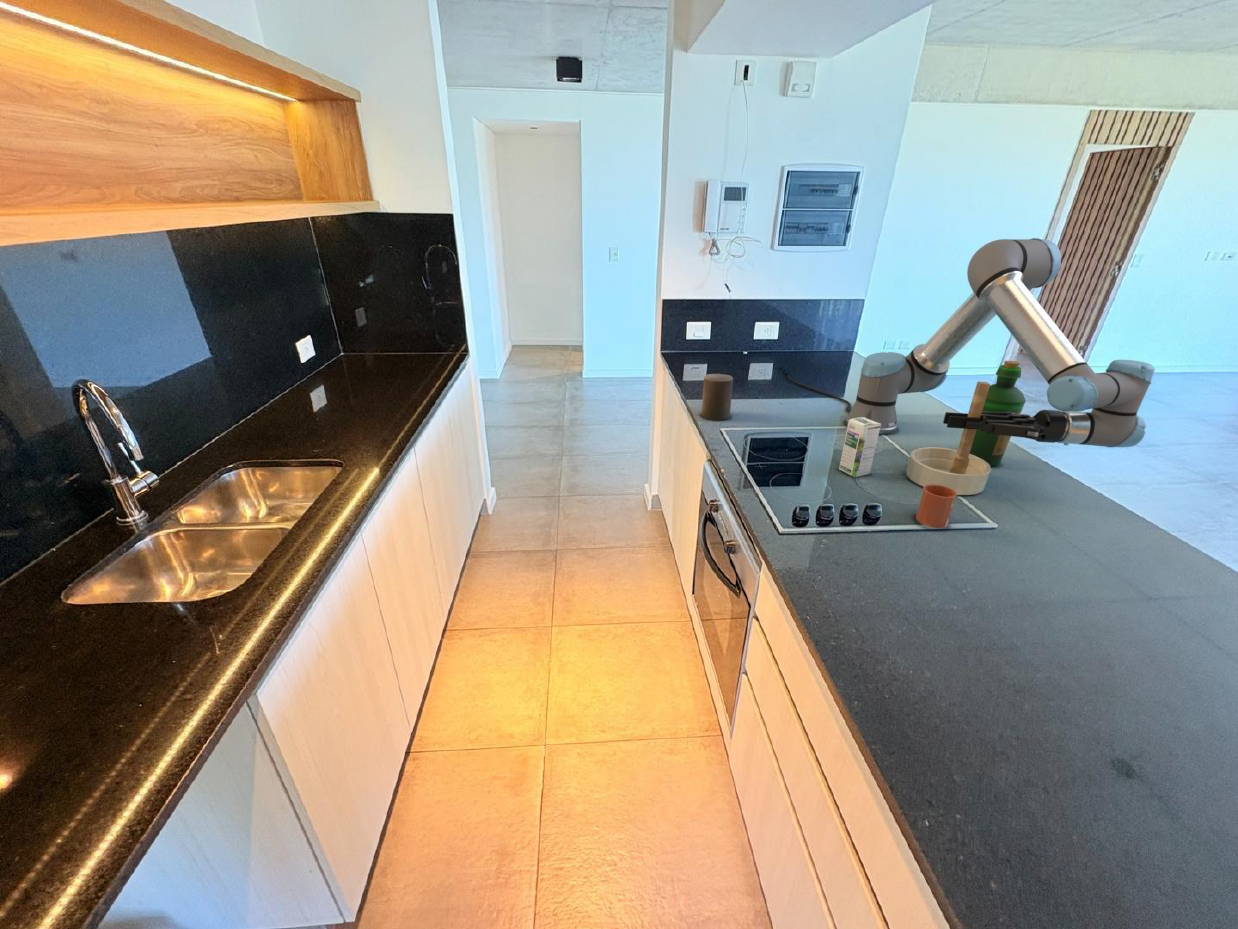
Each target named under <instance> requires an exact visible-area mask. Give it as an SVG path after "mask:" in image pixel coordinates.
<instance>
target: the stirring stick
mask: <svg viewBox="0 0 1238 929" xmlns="http://www.w3.org/2000/svg"><path fill="white" fill-rule="evenodd" d="M990 385H991V384H990V383H989V382H988V381H979V380H978V381H977V382H976V385H975V389H974V392H973V395H972V399H971V402H970V405H969V410H968V413H967V414H968V416H967V417H976V418H980V417H981V413H982V410H983V407H984V403H985V400H986V397H987V393H988V390H989V387H990ZM976 430H977V429H963V430H962V433H961V437H960V441H959V444H958V447H957V450H958V451H957V454H956V456H957V457H953V461H952V464H951V468H950V471H949V473H955V474H965V473H966V470H967V467H968V463H969V460H970V459H969V458H968V457H969V453H970V450H971V447H972V443H973V440H974V437H975V433H976Z"/></svg>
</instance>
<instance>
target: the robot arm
mask: <svg viewBox="0 0 1238 929" xmlns="http://www.w3.org/2000/svg"><path fill="white" fill-rule="evenodd" d="M1061 261H1062V253H1061V250H1060V248H1059V246H1058V245H1057V244H1055V242H1053V241H1051V240H1049V239H1042V238H1039V237H1038V238H1037V237H1035V238H1034V237H1033V238H1030V239H1029V238H1028V239H1026V238H1025V239H1023V238H1021V239H1015V238H1014V239H1013V238H1011V239H1009V238H1003V239H1002V238H999V239H995V240H992V241H990V242H987V243H985V244H984V245H983V246H981V247H980V248H979V249H978V250H976V252H975V253H974V254H973V255H972V257H971V259H970V260H969V262H968V265H967V271H966V272H967V273H966V274H967V275H966V276H967V281H968V284H969V287H970V288H971V291H972V293H971V294H970V295H969V296H968V297H967V298H966V299H965V301H963V303H961V305H959V307H958V308H957V309H956V310H955V311H954V312H953V313H952V314H951V315H950V316H949V318H948V319H947V320H946V321H945V322H943V324H942V325H941V326H940V328H938V330H937V331H936V332H935V333H934V334H933V335H932V336H931V337H930V338H929V339H928V340H927V342H925V343H920V344H917V345H916V346H915V347H914V348H913V349H912V350H911V351H910V352H909V354H907V355H904V354H902V353H899V352H894V351H888V352H885V351H882V352H881V351H880V352H875V353H871V354H869V355H868V356H866V357H865V358H864V360H863V364H862V366H861V369H860V377H859V383H858V388H857V393H856V398H855V402H854V403H853V405H852V407H851V403H850V402H849V401H848V400H846V399H845V398H842V397H839V396H837V395H834V394H832V393H829V392H826V391H823V390H820V389H817V388H814V387H811V386H809V385H805V384H803V383H801V382H799V381H796V380H795V379H794V378H791V377H790V376H789V375H788V376H789V377H788V376H786V378H787V379H788V380H789V381H791V382H792V383H794V384H796V385H798V386H800V387H803V388H806V389H809V390H811V391H814V392H817V393H819V394H822V395H825V396H828V397H832V398H833V399H836V400H839V401H841V402H843V403H845V404H847V407H846V411H847V412H849V413H848V414H847V416H846V418H845V425H846V426H847V427H848V422H849V420H850V419H853V418H859V417H865V418H867V419H869V420H872V421H874V422H877V423H880V424H881V427H880V431H879V435H888V434H893V433H895V432H896V431H897V428H898V418H897V410H896V406H897V405H896V404H897V401H898V396H899V395H902V394H912V393H913V394H915V393H927V392H929V391H933V390H935V389H937V388H939V387H940V386H941V385H943V384H944V382H945V381H946V379H947V377H948V375H947V373H948V372H949V368H950V366H951V365H950V364H951V363H950V361H951V360H952V359H953V358H954V357H955V356H956V355H957V354H958V353H959V352H960V351H961V350H962V349H963V348H964V347H965V346H966V345H967V344H968V343H970V342H971V341H972V339H974V337H975V336H976V335H978V333H980V331H981V330H983V329H984V327H986V325H988V324H989V323H990V322H991V321H992V320H993V319H994V318H995V317H996V316H997V317H998V319H999V320H1000V321H1001V322H1002V324H1003V325H1004V327H1005V328H1006V329H1007V330H1008V332H1009V333H1010V335H1011V336H1012V337H1013V338H1014V340H1015V341H1016V342H1017V344H1018V345H1019V347H1020V348H1021V349H1022V351H1023V352H1024V353H1025V355H1026V356H1027V357H1028V359H1029V360H1030V361H1031V362H1032V364H1033V365H1034V367H1035V368H1036V369H1037V371H1038V372H1039V374H1040V375H1041V376H1042V378H1044V380H1045V381H1046V383H1047V384H1048V387H1047V390H1046V398H1047V399H1046V400H1047V402H1048V403H1049V405H1050V406H1051V407H1052V408H1054V409H1055V410H1053V409H1041V410H1039V411H1038V412H1036V414H1034V415H1032V416H1031V415H1030V414H1025V413H1021V414H1020V415H1015V414H1016V412H1015V411H1007V412H1000V411H982V413H981V417H980V418H976V417H967V416H968V413H966V412H965V413H964V412H951V411H949V412H948V411H945V413H944V418H943V420H942V424H944V425H946V428H948V429H949V428H950V429H961V430H962V429H963V430H964V429H977V430H978V429H979V430H981V431H986V432H985V433H987V434H995V435H1004V436H1011V437H1015V438H1024V439H1030V440H1034V441H1036V442H1038V443H1049V444H1054V443H1057V444H1063V445H1064V446H1070V445H1081V446H1082V445H1083V446H1095V447H1104V448H1105V447H1106V448H1132V447H1135V446H1137V445H1138V444H1139V443H1141V442H1142V440H1143V439H1144V438H1145V435H1146V431H1145V429H1146V428H1147V424H1146V422H1145V420H1144V418H1142V417H1141V416H1140V415H1138V412H1139V410H1140V407H1141V406H1142V402H1143V400H1144V398H1145V396H1146V394H1147V392H1148V390H1149V387H1150V385H1151V384H1152V379H1153V376H1154V373H1155V370H1156V369H1155V367H1154V365H1153V364H1150V363H1149V362H1145V361H1139V360H1132V359H1115V360H1112V361H1111V362H1110V363H1109V365H1108V366H1107V368H1106V369H1105V372H1095V371H1094V370H1093V369H1092V367H1091V366H1090V365H1089V364H1088V363H1087V362H1086V361H1085V359H1084V358H1083V357H1082V355H1081V354H1080V353H1079V352H1078V350H1077V349H1076V347H1075V346H1074V345H1073V344H1072V343H1071V341H1070V340H1069V339H1068V337H1067V336H1066V335H1065V334H1064V332H1063V331H1062V330H1061V329H1060V328H1059V327H1058V325H1057V324H1056V322H1055V321H1054V320H1053V319H1052V317H1051V316H1050V315H1049V314H1048V313H1047V311H1046V310H1045V309H1044V307H1043V306H1042V305H1041V303H1040V302H1039V301H1038V300H1037V299H1036V298H1035V297H1034V295H1033V294H1032V291H1031V290H1033V289H1038V288H1042V287H1044V286H1046V285H1049V284H1050V283H1052V281H1053V280H1055V278H1056V277H1057V275H1058V273H1059V271H1060V269H1061V266H1062V263H1061ZM850 408H851V409H850ZM1086 410H1091V411H1089V412H1087V411H1086Z"/></svg>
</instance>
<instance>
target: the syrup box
mask: <svg viewBox="0 0 1238 929" xmlns="http://www.w3.org/2000/svg"><path fill="white" fill-rule="evenodd" d="M880 427H881V424H880V423H877V422H874V421H872V420H869V419H867V418H865V417H859V418H853V419H850V420H849V422H848V426H847V427H846V432H845V437H844V443H843V446H842V447H843V448H842V452H841V456H840V457H841V458H840V462H839V465H838V466H839V467H838V470H839V471H842V472H844V473H845V474H847V475H849V476H851V477H852V478H859V477H863V476H867V475H870V474H871V470H872V465H873V460H874V457H875V453H876V447H877V443H878V440H879V435H880V434H879V431H880Z"/></svg>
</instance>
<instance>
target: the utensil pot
mask: <svg viewBox="0 0 1238 929" xmlns="http://www.w3.org/2000/svg"><path fill="white" fill-rule="evenodd" d="M957 497H958V495H956V492H955V491H954V490H952V489H950V488H948V487H945V486H941V485H934V484H931V485H926V486H924V487H923V488H922V491H921V494H920V498H919V503H918V506H917V509H916V514H915V520H916V521H917V522H918V523H919V524H921V525H923V526H925V527H928V528H932V529H945V528H946V527H947V526H948V525H949V523H950V520H951V519H950V518H951V515H952V512H953V509H954V505H955V502H956V498H957Z"/></svg>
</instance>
